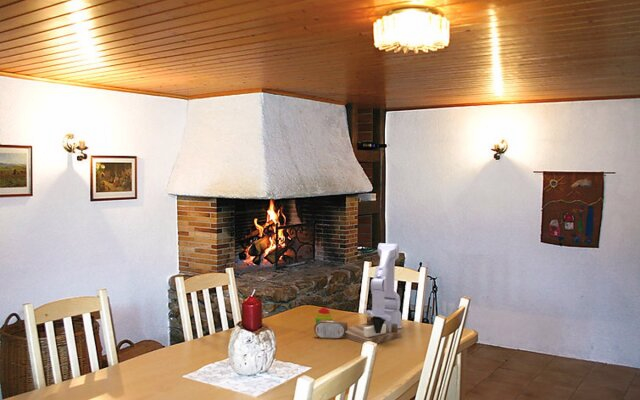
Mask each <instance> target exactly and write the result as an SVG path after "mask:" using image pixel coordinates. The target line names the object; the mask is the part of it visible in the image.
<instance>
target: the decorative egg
mask: <svg viewBox="0 0 640 400" xmlns="http://www.w3.org/2000/svg"><path fill="white" fill-rule="evenodd" d="M332 317H333V316H332V314H331V312H330V310H329V309H328V308H326V307H321V308H320V309H319V310H318V311H317V313H316V315H315V324H316V323H317V322H318V321H320V320H332V319H333V318H332Z"/></svg>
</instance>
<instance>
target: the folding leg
mask: <svg viewBox="0 0 640 400" xmlns="http://www.w3.org/2000/svg"><path fill="white" fill-rule="evenodd" d="M384 333H389V323H384V324H383V326H382V329H381V333H378V334H377V333H376V332H375V328H374V325H373V326H369V327H365V328H364V336H365V337H371V336H375V335H379V334H384Z"/></svg>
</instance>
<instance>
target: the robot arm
mask: <svg viewBox="0 0 640 400" xmlns="http://www.w3.org/2000/svg"><path fill="white" fill-rule="evenodd" d="M377 255H378V256H379V257H380V259H379V264H378V265H377V266H376V269H375V272H374V276H373V278H372V279H371V281H370V291H371V292H370V293H371V297H372V298H371V301H372V302H371V305H372V307H371V310H370V309H368V310H365V315H366V316H370V317H373V318H371V321H372V323H373V325H374V328H375V332H376V333H377V334H378V333H381V329H382V326H383V324H384V323H389V328H390V329H391V324H398V330H399V329H401V328H402V329H403V326H402V313H401V311H400V307H401V296H400V294H398V292H396V291H395V268H396V267H395V265H396V264H395V262H396V260H399V257H400V246H399V244H398V243H387V242H386V243H383V242H379V243H378V245H377Z"/></svg>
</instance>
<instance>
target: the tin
mask: <svg viewBox="0 0 640 400" xmlns="http://www.w3.org/2000/svg"><path fill="white" fill-rule="evenodd" d="M342 322H343V321H340V320H320V321H318V322H317V323H316V322H315V325H314V329H313V330H314V334H315V335H316V337H318V338H320V339H331V340H332V339H333V340H336V339H337V340H340V339H342V338H344V337H343V336H344V334H345V332H346V327H345V325H344V323H342Z"/></svg>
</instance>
